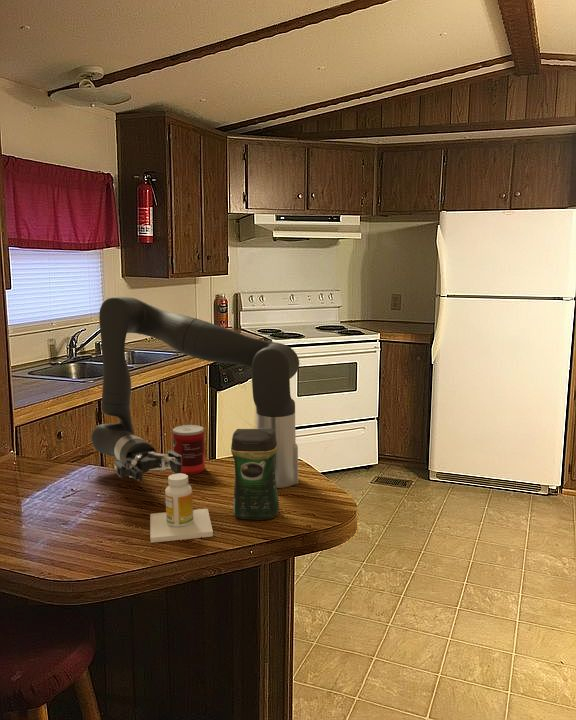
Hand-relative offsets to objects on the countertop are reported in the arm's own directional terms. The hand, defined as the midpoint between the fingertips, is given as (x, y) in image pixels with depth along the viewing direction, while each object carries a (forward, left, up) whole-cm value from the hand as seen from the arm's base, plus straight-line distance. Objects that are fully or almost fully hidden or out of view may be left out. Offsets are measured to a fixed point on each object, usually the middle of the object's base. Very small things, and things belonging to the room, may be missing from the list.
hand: (160, 472), depth 141 cm
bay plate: (-4, +10, -8) cm, 14 cm away
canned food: (-8, -25, -9) cm, 28 cm away
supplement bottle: (-3, +10, -8) cm, 13 cm away
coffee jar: (-20, +7, -9) cm, 22 cm away
